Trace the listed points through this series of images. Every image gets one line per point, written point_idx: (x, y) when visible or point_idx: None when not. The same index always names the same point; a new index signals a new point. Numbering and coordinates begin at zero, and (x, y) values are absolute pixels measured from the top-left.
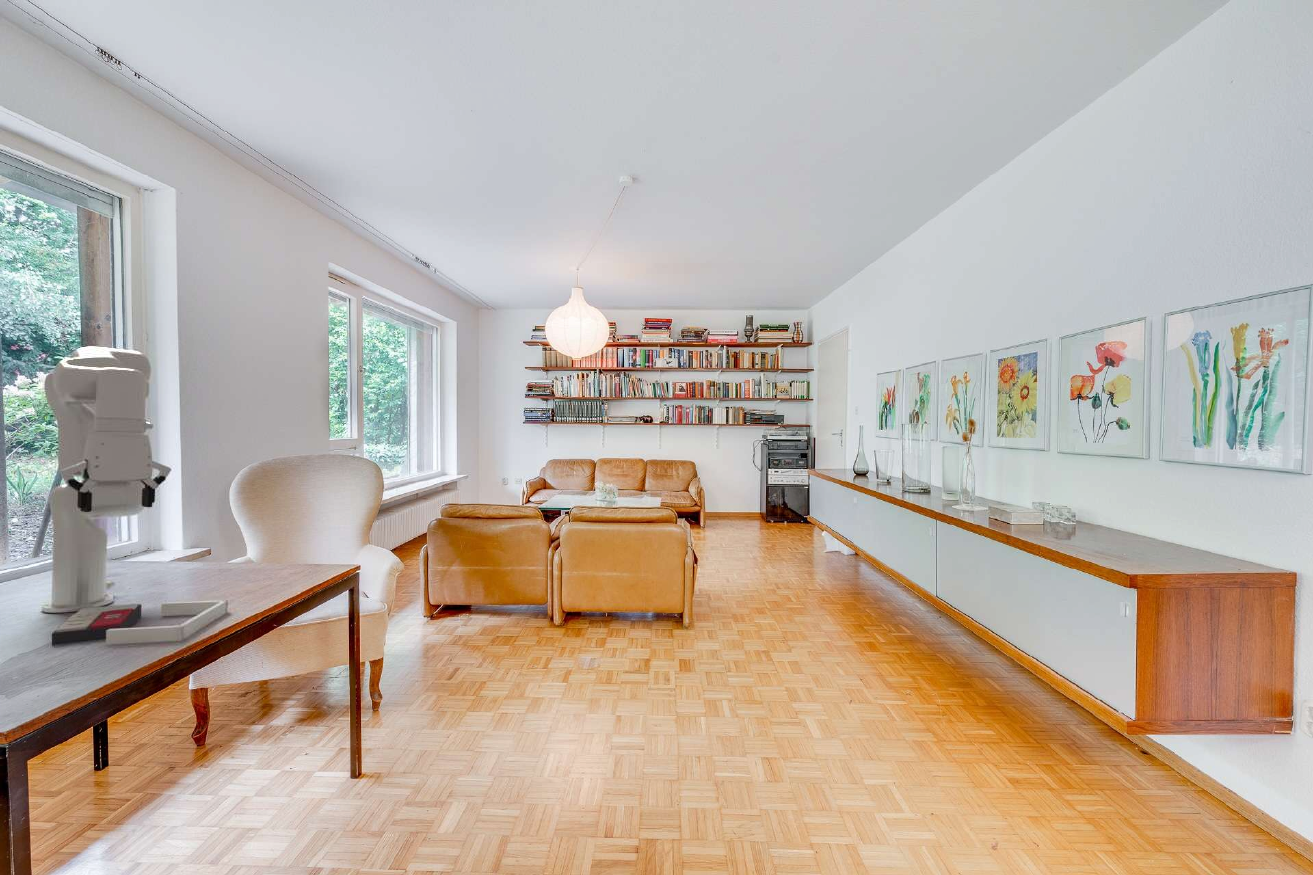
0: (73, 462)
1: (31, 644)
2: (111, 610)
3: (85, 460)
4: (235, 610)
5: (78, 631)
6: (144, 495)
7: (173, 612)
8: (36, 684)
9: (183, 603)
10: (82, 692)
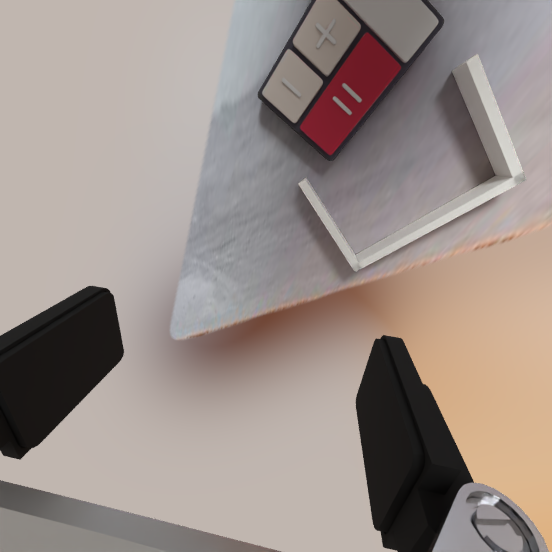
0: None
1: (248, 56)
2: (373, 38)
3: None
4: None
5: (285, 121)
6: (383, 429)
7: (464, 91)
8: (201, 264)
9: (483, 106)
10: (217, 323)
